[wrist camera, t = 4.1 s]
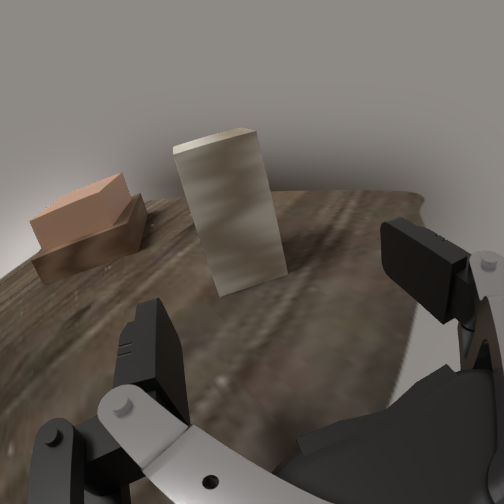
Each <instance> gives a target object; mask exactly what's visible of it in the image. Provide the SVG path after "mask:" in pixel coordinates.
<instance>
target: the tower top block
mask: <svg viewBox="0 0 504 504" xmlns="http://www.w3.org/2000/svg"><path fill="white" fill-rule="evenodd" d="M131 200H132V199H131V196H130V193H129V190H128V188H127V185H126V182H125V179H124V176H123V173H119V174H116V175H113V176H111V177H108V178H106V179H103V180H100V181H98V182H95V183H93V184H90V185H88V186H85V187H83V188H81V189H78V190H76V191H73V192H71V193H68V194H66V195H64V196H62V197H61V198H59V199H58V200H56V201H55V202H54V203H52V204H51V205H50V206H49V207H47V208H46V209H44V210H43V211H42V212H41V213H39V214H38V215H37V216H35V217H34V218H33V219H32V220H30V224H31V226H32V228H33V231H34V233H35V235H36V237H37V239H38V242H39V244H40V246H41V248H42V250H43V251H46V250H48V249H51V248H54V247H56V246H59V245H61V244H64V243H67V242H70V241H72V240H75V239H78V238H80V237H83V236H86V235H89V234H92V233H94V232H97V231H100V230H103V229H106V228H109V227H112V226H113V225H114V223H115V222H116V220H117V219H118V218H119V216H120V215H121V213H122V212H123V211H124V209H125V208H126V207H127V205H128V204H129V203H130V201H131Z"/></svg>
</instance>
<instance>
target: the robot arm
mask: <svg viewBox="0 0 504 504" xmlns="http://www.w3.org/2000/svg"><path fill="white" fill-rule="evenodd" d="M380 234H381V257H382V265H383V268H384V271H385V273H386V274H387V275H388V276H389V277H390V278H391V279H392V280H393V281H394V282H396V283H397V284H398V285H399V286H400V287H401V288H403V289H404V290H405V291H406V292H407V293H408V294H409V295H411V296H412V297H413V298H414V299H415V300H416V301H417V302H418V303H420V304H421V305H422V306H423V307H424V308H425V309H426V310H427V311H429V312H430V313H431V314H432V315H433V316H434V317H435V318H436V319H438V321H440V322H441V323H442V324H445V323H446V322H449V321H450V320H452V319H454V318H456V319H457V320H458V321H459V323H458V338H459V349H460V364H461V371H458V372H454V371H453V370H452V369H451V368H450V367H449V366H448V365H447V364H446V365H444V366H443V367H441V368H439V369H438V370H436V371H435V372H433V373H431V374H430V375H428V376H426V377H425V378H423V379H421V380H420V381H418V382H416V383H415V384H414V385H413V386H412V387H411V388H410V389H409V390H408V391H407V392H405V394H403V395H402V396H401V397H400V398H399V399H398V400H397V401H395V402H394V403H393V404H392V405H391V406H390V407H389V408H387V409H386V410H384V411H381V412H377V413H373V414H369V415H365V416H361V417H356V418H352V419H347V420H342V421H338V422H336V423H333V424H331V425H328V426H326V427H324V428H321V429H319V430H316V431H314V432H311V433H308V434H306V435H303V436H300V437H298V438H296V440H297V443H298V446H299V450H297V451H295V452H294V453H292V454H291V455H290V456H288V457H287V458H286V459H285V460H283V461H282V462H281V463H280V464H279V465H278V466H277V467H276V468H275V469H274V470H273V472H272V473H269V472H268V471H266V470H264V469H262V468H261V467H259V466H257V465H255V464H254V463H252V462H250V461H249V460H247V459H245V458H244V457H242V456H241V455H239V454H237V453H236V452H234V451H233V450H231V449H230V448H228V447H226V446H225V445H223V444H222V443H220V442H219V441H217V440H216V439H214V438H213V437H211V436H210V435H208V434H207V433H206V432H204V431H203V430H201V429H200V428H198V427H197V426H195V425H193V424H190V417H189V409H188V401H187V392H186V384H185V374H184V364H183V354H182V347H181V343H180V340H179V337H178V335H177V332H176V330H175V328H174V326H173V324H172V322H171V320H170V318H169V316H168V314H167V312H166V310H165V308H164V305H163V303H162V301H161V300H160V299H159V298H156V299H153V300H149V301H146V302H143V303H140V304H138V305H137V308H136V316H135V321H133V322H129V323H127V325H126V326H125V328H124V329H123V331H122V333H121V334H120V340H119V348H118V353H117V356H118V357H117V360H116V367H115V374H114V382H113V389H112V390H111V391H109V392H108V393H107V394H106V395H105V396H104V397H103V398H102V400H101V402H100V404H99V406H98V415H96V416H95V417H93V418H91V419H89V420H87V421H85V422H83V423H81V424H79V425H77V426H75V427H74V426H73V425H72V424H71V423H70V422H69V421H68V420H66V419H64V418H55V419H52V420H50V421H48V422H46V423H45V424H44V425H43V426H42V427H41V428H40V429H39V431H38V433H37V435H36V437H35V441H34V447H33V454H32V461H31V469H30V477H29V487H28V498H27V504H131V498H130V489H129V484H130V483H132V482H134V481H136V480H139V479H141V478H143V477H145V476H147V477H148V478H149V479H150V480H151V481H152V482H153V483H154V484H155V485H156V486H157V487H158V488H159V489H160V490H161V491H162V492H163V493H164V494H165V495H167V496H168V497H169V498H170V499H171V500H172V501H173V502H174V503H175V504H504V257H502V256H501V255H499V254H497V253H494V252H491V251H479V252H476V253H474V254H472V255H471V254H470V253H468V252H466V251H465V250H463V249H462V248H460V247H458V246H457V245H455V244H453V243H451V242H450V241H448V240H445V238H443V237H441V236H440V235H439V236H438V235H437V234H436V233H434V232H433V231H431V230H429V229H427V228H423V227H420V226H417V225H415V224H413V223H411V222H409V221H408V220H406V219H404V218H402V217H398V218H395V219H392V220H389V221H386V222H383V223H382V224H381V228H380Z"/></svg>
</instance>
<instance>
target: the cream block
mask: <svg viewBox="0 0 504 504" xmlns="http://www.w3.org/2000/svg"><path fill="white" fill-rule="evenodd" d="M173 157H174V160H175V163H176V166H177V170H178V173H179V176H180V180H181V182H182V186H183V189H184V192H185V195H186V199H187V202H188V205H189V208H190V211H191V214H192V217H193V220H194V223H195V227H196V230H197V233H198V236H199V239H200V242H201V245H202V248H203V250H204V253H205V256H206V259H207V262H208V265H209V268H210V271H211V274H212V277H213V280H214V282H215V285H216V288H217V291H218V294H219V297H222V296H225V295H228V294H231V293H234V292H237V291H240V290H243V289H246V288H249V287H252V286H255V285H258V284H261V283H264V282H267V281H270V280H273V279H276V278H279V277H282V276H285V275H287V274H288V271H287V266H286V261H285V257H284V252H283V247H282V243H281V238H280V233H279V229H278V224H277V219H276V215H275V210H274V206H273V201H272V197H271V192H270V188H269V184H268V180H267V175H266V171H265V166H264V162H263V158H262V153H261V149H260V145H259V141H258V137H257V133H256V131H254V130H249V129H244V128H236V129H232V130H228V131H225V132H221V133H218V134H214V135H210V136H207V137H203V138H200V139H197V140H193V141H190V142H187V143H184V144H180V145H177V146H174V147H173Z"/></svg>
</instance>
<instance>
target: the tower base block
mask: <svg viewBox="0 0 504 504" xmlns="http://www.w3.org/2000/svg"><path fill="white" fill-rule="evenodd" d="M131 199H132V200H131V201H130V203H129V204H128V205H127V207H126V208H125V209H124V211H123V212H122V213H121V215H120V216H119V218H118V219H117V220H116V222H115V223H114V225H113V226H112V227H109V228H106V229H103V230H100V231H97V232H94V233H92V234H89V235H86V236H83V237H80V238H78V239H75V240H72V241H70V242H67V243H64V244H61V245H59V246H56V247H54V248H51V249H48V250H46V251H43V250H42V248H41V250H40V251H39V252H38V253H37V254H36V255H35V257H34V258H33V259H32V260H31V261H32V263H33V265H34V267H35V269H36V271H37V273H38V275H39V277H40V279H41V280H42V282H43V284H44V285H46V284H49V283H51V282H54V281H57V280H60V279H62V278H65V277H68V276H71V275H73V274H76V273H79V272H82V271H85V270H87V269H90V268H93V267H96V266H99V265H102V264H104V263H107V262H110V261H113V260H116V259H119V258H122V257H125V256H128V255H131V254H134V253H136V252H139V249H140V244H141V240H142V236H143V233H144V229H145V225H146V221H147V217H148V213H147V210H146V207H145V204H144V202H143V199H142V196H141V194H137V195H134V196H131Z"/></svg>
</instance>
